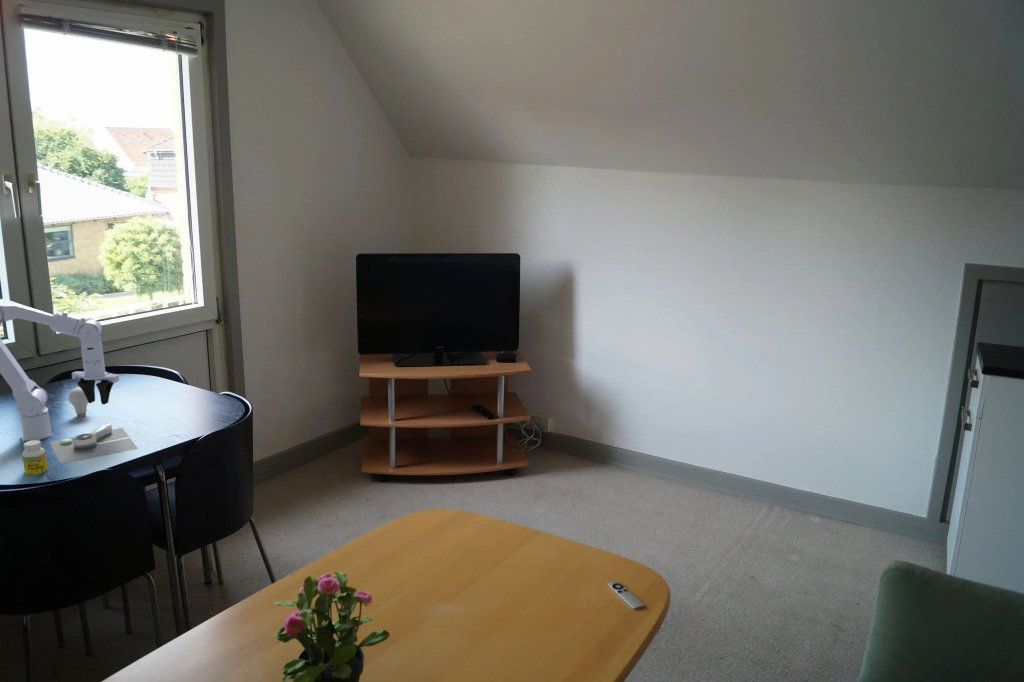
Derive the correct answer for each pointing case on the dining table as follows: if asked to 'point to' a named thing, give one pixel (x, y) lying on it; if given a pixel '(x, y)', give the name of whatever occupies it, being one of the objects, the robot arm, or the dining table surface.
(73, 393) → the lightbulb
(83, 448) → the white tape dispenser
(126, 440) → the plate
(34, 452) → the supplement bottle
